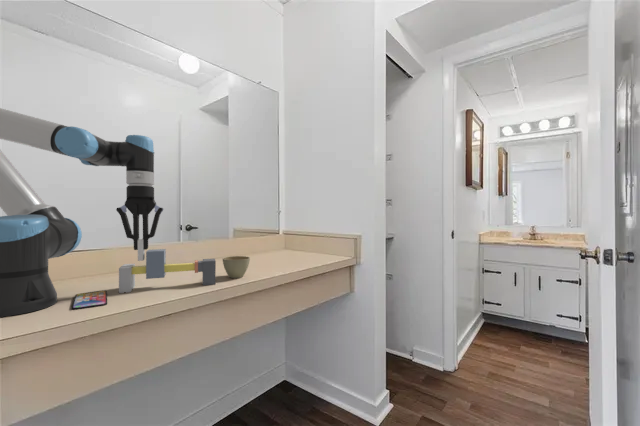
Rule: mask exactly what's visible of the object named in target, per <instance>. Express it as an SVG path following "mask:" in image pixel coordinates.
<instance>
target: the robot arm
mask: <svg viewBox="0 0 640 426" xmlns="http://www.w3.org/2000/svg"><path fill="white" fill-rule="evenodd" d="M0 140H3V141H6V142H11V143H15V144H19V145H24V146H26V147H27V146H28V147H32V148H36V149H40V150H44V151H48V152H52V153H56V154H59V155H64V156H67V157H71V158H74V159H79V161H80V163H81V164H83V165H86V166H94V167H125V168H126V169H125V171H126V174H125V175H126V177H125V178H126V185H127V186H126V200H125V201H124V204H123V205H121V206H120V207H117V208H116V209H115V210H116V212H117V213H118V214H119V216H120V219H121V223H122V225H123V229H124V232H125V236H126V238H127V239H131V240H133V250H134V251H137V262H140V261H145V260H146V254H145V253H146V251H147V250H149V240H150V239H152V238H154V237H155V234H156V231H157V228H158V223H159V220H160V216H161V214H162V212H163V211H164V208H163V207H161V206H159V205H157V202H156V200H155V187H154V185H155V171H154V170H155V169H154V168H155V163H154V162H155V150H154V148H155V147H154V141H153V139H152V138H151V137H149V136H146V135H141V134H140V135H139V134H129V135H127V136H126V137H125V141H111V140H110V141H109V140H105V139H104V138H101V137H98V136H97V135H95V134H94V133H91V132H90V131H88V130H86V129H84V128H80V127H77V126H68V125H63V124H60V123H58V122H54V121H50V120H45V119H41V118H39V117H35V116H30V115H28V114H23V113H19V112H16V111H12V110H9V109H6V108H1V107H0ZM0 209H1V210H2V211H3V213H5V214H6V215H3V216H0V318H1V317H10V316H17V315H21V314H27V313H31V312H32V313H33V312H37V311H40V310H44V309H46V308H49V307H52V306H53V305H56V304H57V303H58V293H57V290H56V288H55V286H54V284H53V282H52V280H51V277H50V275H49V259H54V258H59V257H64V256H65V255H67V254H69V253H71V252H73V251H75V249H76V248H77V247H79V245H80V244H81V241H82V238H83V235H82V234H83V233H82V230H81V227H80V225H79V224H78V223H77V221H75V220H73V219H71V218H67V217H64V215H63V214H62V213H61V212H60V211H59V209H58V207H56V206H54V205H50V204H46V203H45V202H44V200H42V198H41V197H40V196H39V195H38V193H36V191H35V190H34V189H33V188H32V186H31V185H30V184H29V182H28V181H27V180H26V179H25V178H24V177H23V175H22V174H21V173H20V172H19V170H18V169H17V168H16V167H15V166H14V165H13V163H12V162H11V161H10V159H8V157H7V156H6V155H5V153H4V152H3V151H2V150H1V149H0ZM153 210H154V213H155V214H154V217H153V220H152V224H151V229H150V231H149V214H151V212H152V211H153ZM127 211H129V212H130V213H131V214H132V222H133V223H132V226H133V227H132V228H133V229H131V225H130V222H129V217H128V216H127ZM141 215H142V239H141V238H140V216H141ZM132 230H133V231H132ZM149 232H150V233H149ZM145 250H146V251H145Z"/></svg>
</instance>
